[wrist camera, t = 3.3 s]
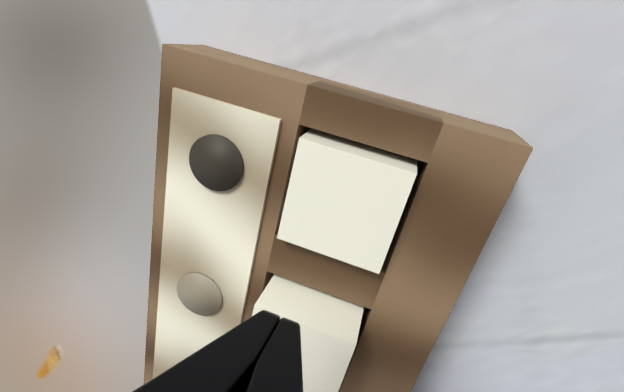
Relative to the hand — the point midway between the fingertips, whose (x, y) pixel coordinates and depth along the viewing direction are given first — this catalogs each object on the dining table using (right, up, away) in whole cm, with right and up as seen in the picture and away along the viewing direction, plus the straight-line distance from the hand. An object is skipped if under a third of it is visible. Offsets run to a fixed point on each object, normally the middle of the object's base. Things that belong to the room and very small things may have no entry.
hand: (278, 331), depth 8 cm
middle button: (+1, -3, +11) cm, 11 cm away
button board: (0, -2, +13) cm, 13 cm away
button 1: (+3, +3, +9) cm, 10 cm away
